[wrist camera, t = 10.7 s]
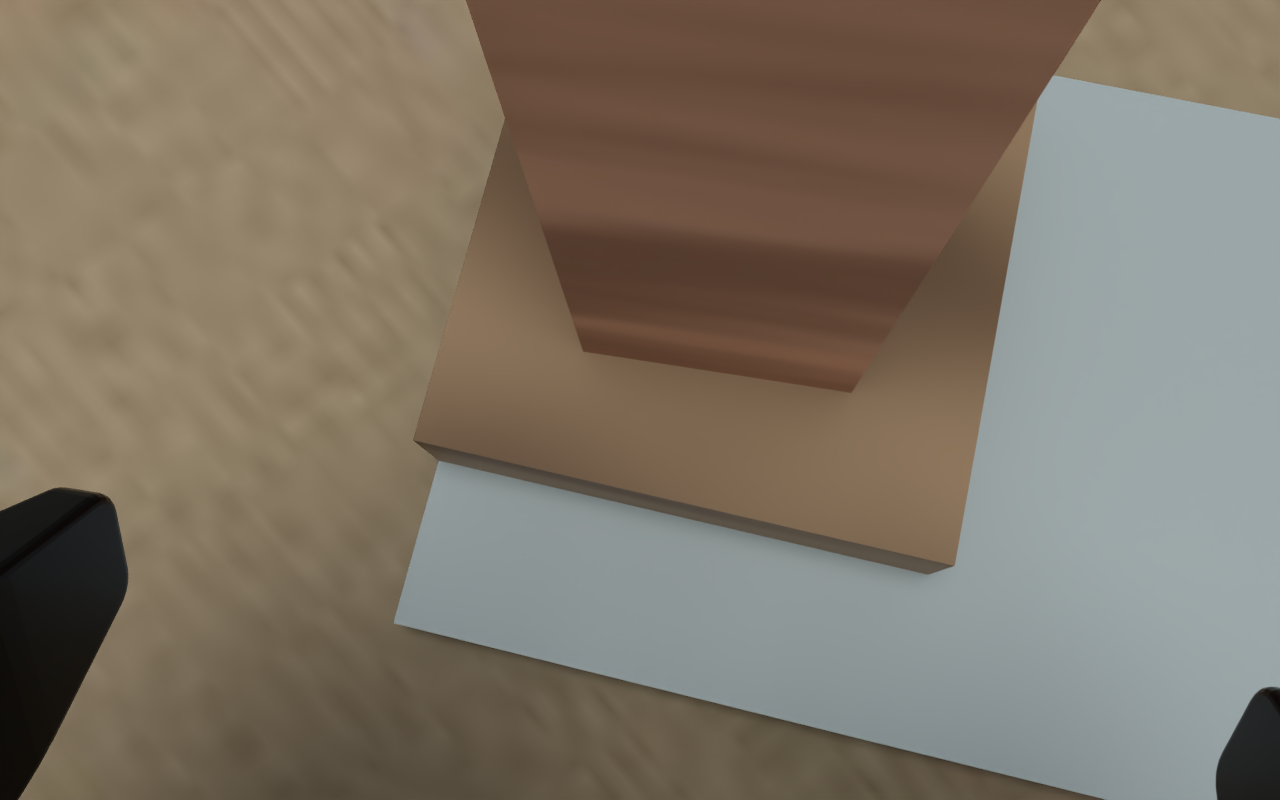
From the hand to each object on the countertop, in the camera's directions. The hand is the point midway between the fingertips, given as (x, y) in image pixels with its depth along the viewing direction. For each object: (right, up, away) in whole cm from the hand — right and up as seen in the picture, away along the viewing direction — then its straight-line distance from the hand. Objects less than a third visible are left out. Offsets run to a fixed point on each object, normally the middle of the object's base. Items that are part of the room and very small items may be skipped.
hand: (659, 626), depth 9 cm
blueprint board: (+6, +2, +13) cm, 14 cm away
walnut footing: (+2, +4, +12) cm, 13 cm away
